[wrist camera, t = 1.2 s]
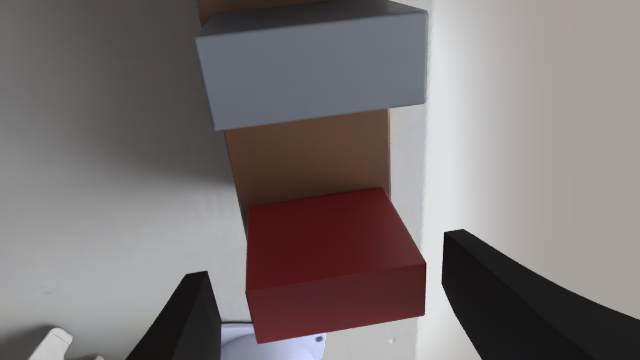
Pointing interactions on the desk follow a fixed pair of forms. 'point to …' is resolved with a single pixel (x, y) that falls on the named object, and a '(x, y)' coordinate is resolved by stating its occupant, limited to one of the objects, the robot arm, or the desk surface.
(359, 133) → the wood grain box
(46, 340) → the tablet stand
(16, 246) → the desk surface
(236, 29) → the grey books
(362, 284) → the red book
